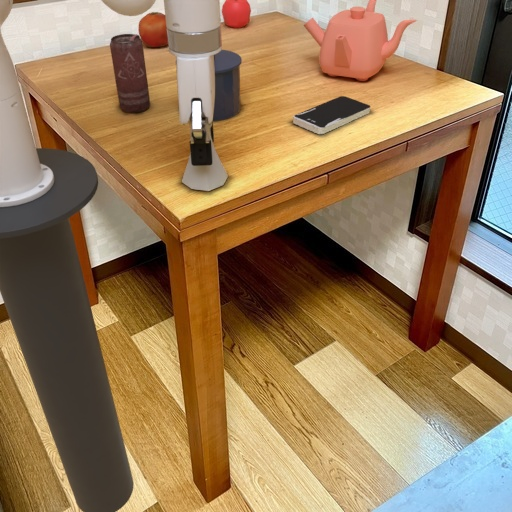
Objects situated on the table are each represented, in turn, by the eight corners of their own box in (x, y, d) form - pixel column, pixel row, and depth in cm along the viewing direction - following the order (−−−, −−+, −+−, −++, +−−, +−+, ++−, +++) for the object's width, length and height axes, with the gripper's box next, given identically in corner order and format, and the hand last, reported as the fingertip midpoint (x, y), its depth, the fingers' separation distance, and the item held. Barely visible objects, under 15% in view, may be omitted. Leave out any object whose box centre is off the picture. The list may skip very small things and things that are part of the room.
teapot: (369, 53, 145) (375, -7, 137) (409, 79, 131) (418, 14, 123) (300, 63, 140) (302, 1, 132) (333, 91, 126) (338, 24, 118)
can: (157, 105, 122) (149, 35, 113) (136, 116, 118) (126, 44, 109) (135, 99, 125) (125, 30, 116) (113, 109, 120) (102, 39, 112)
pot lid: (202, 82, 108) (200, 54, 104) (163, 64, 115) (160, 37, 112) (255, 66, 114) (254, 39, 111) (215, 50, 122) (213, 24, 119)
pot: (205, 126, 114) (202, 78, 108) (171, 108, 121) (166, 61, 115) (252, 109, 119) (251, 63, 114) (216, 93, 127) (214, 48, 121)
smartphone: (372, 106, 117) (321, 129, 109) (371, 112, 118) (320, 135, 110) (342, 95, 122) (291, 116, 114) (342, 101, 122) (290, 123, 114)
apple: (216, 26, 164) (214, -5, 159) (235, 19, 169) (234, -11, 164) (238, 31, 160) (237, 0, 155) (257, 24, 165) (256, -6, 160)
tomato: (147, 53, 147) (142, 19, 142) (135, 42, 154) (130, 10, 149) (182, 47, 151) (179, 14, 146) (168, 37, 157) (165, 5, 152)
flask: (210, 196, 94) (206, 138, 87) (173, 184, 97) (167, 127, 91) (235, 176, 98) (233, 120, 92) (200, 165, 101) (196, 110, 95)
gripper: (173, 21, 90) (183, 130, 101) (161, 61, 77) (175, 181, 88) (222, 20, 91) (227, 128, 101) (220, 59, 77) (226, 180, 88)
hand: (203, 152), depth 94 cm, fingers open, 6 cm apart
